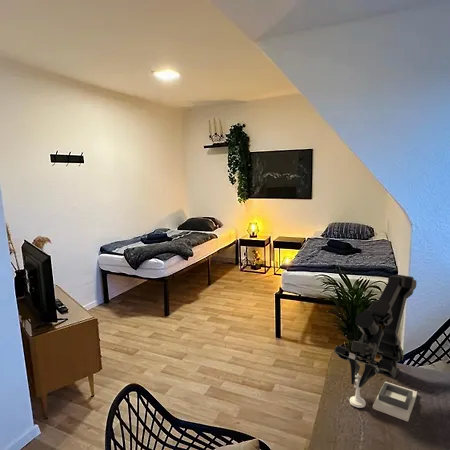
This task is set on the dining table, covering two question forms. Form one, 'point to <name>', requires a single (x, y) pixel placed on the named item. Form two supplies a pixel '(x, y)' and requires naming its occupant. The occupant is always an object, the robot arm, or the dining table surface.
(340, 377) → the dining table surface
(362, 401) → the chess piece
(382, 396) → the board
